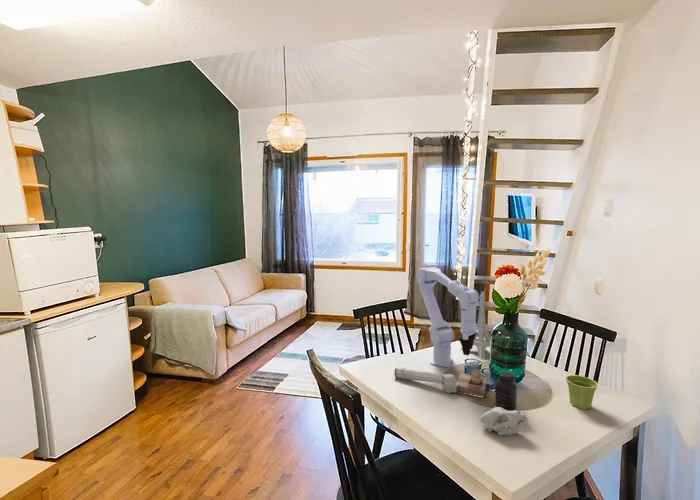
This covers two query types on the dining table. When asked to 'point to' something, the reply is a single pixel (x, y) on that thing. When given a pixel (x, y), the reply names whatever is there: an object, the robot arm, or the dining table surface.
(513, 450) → the dining table surface
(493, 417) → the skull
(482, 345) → the eiffel tower
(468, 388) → the socket block
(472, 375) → the peg
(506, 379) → the supplement bottle
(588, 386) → the plant pot
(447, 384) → the gray mallet
